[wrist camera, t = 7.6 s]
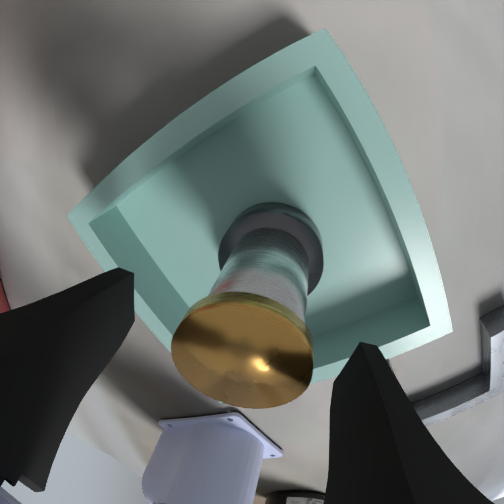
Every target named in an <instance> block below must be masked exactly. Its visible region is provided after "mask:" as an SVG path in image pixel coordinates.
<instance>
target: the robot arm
mask: <svg viewBox="0 0 504 504" xmlns="http://www.w3.org/2000/svg"><path fill="white" fill-rule="evenodd" d="M134 321H135V315H134V273H133V272H130V271H127V270H125V269H122V268H119V267H117V268H114V269H112V270H109V271H107V272H104V273H102V274H100V275H97V276H95V277H93V278H91V279H88V280H86V281H84V282H82V283H79V284H77V285H75V286H72V287H70V288H68V289H66V290H63V291H61V292H59V293H56V294H54V295H51V296H48V297H46V298H43V299H41V300H39V301H36V302H34V303H31V304H28V305H25V306H22V307H19V308H16V309H13V310H9V311H6V312H3V313H0V504H21V503H20V502H19V501H18V500H16V499H15V498H14V497H13V496H11V495H10V494H9V493H8V492H7V491H5V490H4V489H3V488H2V487H1V485H2V483H3V482H4V480H6V481H7V482H8V483H9V484H10V485H12V486H15V485H16V483H17V481H18V480H19V481H20V482H21V483H23V484H24V485H26V486H27V487H29V488H30V489H31V490H33V491H34V492H41V491H44V490H45V487H46V483H47V479H48V476H49V473H50V469H51V466H52V463H53V461H54V458H55V456H56V453H57V450H58V448H59V445H60V443H61V441H62V439H63V436H64V434H65V432H66V430H67V428H68V425H69V423H70V421H71V419H72V417H73V416H74V414H75V412H76V410H77V408H78V406H79V404H80V402H81V401H82V399H83V397H84V396H85V394H86V393H87V391H88V390H89V388H90V387H91V386H92V384H93V383H94V382H95V380H96V379H97V377H98V376H99V375H100V373H101V372H102V371H103V369H104V368H105V366H106V365H107V364H108V362H109V361H110V360H111V358H112V357H113V356H114V354H115V353H116V352H117V350H118V349H119V347H120V346H121V344H122V343H123V341H124V339H125V337H126V336H127V334H128V332H129V330H130V328H131V327H132V325H133V323H134ZM158 425H159V426H160V427H162V428H163V432H162V434H161V436H160V438H159V440H158V443H157V445H156V447H155V449H154V451H153V454H152V456H151V458H150V460H149V463H148V465H147V467H146V469H145V472H144V474H143V478H142V489H143V494H144V496H145V498H146V500H147V501H148V502H149V503H150V504H253V501H254V496H255V492H256V488H257V483H258V479H259V474H260V469H261V465H262V460H263V459H265V458H275V457H282V456H283V451H282V450H280V449H279V448H278V447H277V446H276V445H275V444H273V443H272V442H271V441H270V440H269V439H268V438H266V437H265V436H264V435H263V434H262V433H261V432H260V431H258V430H257V429H256V428H255V427H254V426H253V425H252V424H251V423H250V422H249V421H247V420H246V419H245V418H244V417H243V416H242V415H241V414H239V413H237V412H231V413H225V414H217V415H210V416H201V417H192V418H181V419H169V420H159V422H158ZM323 504H494V503H493V502H491V501H490V500H489V499H487V498H486V497H485V496H484V495H483V494H482V493H481V492H480V491H479V490H478V489H476V488H475V487H474V486H473V485H472V484H471V483H470V482H469V481H468V480H467V479H466V478H465V477H464V475H463V474H462V473H461V472H460V471H459V470H458V469H457V468H456V466H455V465H454V464H453V463H452V462H451V461H450V459H449V458H448V457H447V456H446V454H445V453H444V452H443V450H442V449H441V448H440V446H439V445H438V444H437V442H436V441H435V440H434V438H433V437H432V435H431V434H430V433H429V431H428V430H427V428H426V427H425V425H424V423H423V422H422V420H421V419H420V417H419V416H418V414H417V412H416V411H415V409H414V407H413V406H412V404H411V402H410V401H409V399H408V397H407V396H406V394H405V392H404V390H403V389H402V387H401V385H400V383H399V382H398V380H397V378H396V376H395V375H394V373H393V371H392V369H391V368H390V366H389V364H388V362H387V361H386V359H385V357H384V356H383V354H382V352H381V351H380V349H379V348H378V346H377V345H373V344H368V343H364V342H359V344H358V345H357V347H356V349H355V350H354V352H353V353H352V355H351V357H350V358H349V360H348V361H347V363H346V364H345V366H344V367H343V369H342V370H341V372H340V373H339V375H338V376H337V378H336V379H335V381H334V383H333V390H332V397H331V406H330V440H329V471H328V481H327V487H326V492H325V498H324V503H323Z"/></svg>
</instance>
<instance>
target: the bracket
mask: <svg viewBox="0 0 504 504" xmlns="http://www.w3.org/2000/svg"><path fill="white" fill-rule="evenodd" d="M480 322H481V336H482V359H483V373H482V374H480V375H478V376H475V377H473V378H471V379H469V380H467V381H465V382H463V383H461V384H459V385H456V386H454V387H452V388H450V389H447V390H445V391H443V392H440V393H438V394H435V395H433V396H430V397H428V398H425V399H423V400H420V401H417V402H415V403H412V406H413V407H414V409H415V411H416V412H417V414H418V416H419V417H420V419H421V420H422V422H423V423H424V425H425V426H428V425H430V424H433V423H436V422H438V421H441V420H443V419H446V418H448V417H451V416H453V415H455V414H458V413H460V412H462V411H464V410H467V409H469V408H471V407H473V406H475V405H477V404H480V403H482V402H484V401H486V400H488V399H490V398H492V397H493V396H495V395H497V394H499V393H501V392H503V391H504V306H502V307H500V308H498V309H497V310H495V311H493V312H491V313H489V314H487V315H486V316H484V317H482V318H480ZM386 361H387V362H388V364H389V366H390V368H391V369H392V367H391V365H390V362H389V360H386ZM392 371H393V370H392ZM393 373H394V372H393Z"/></svg>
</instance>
